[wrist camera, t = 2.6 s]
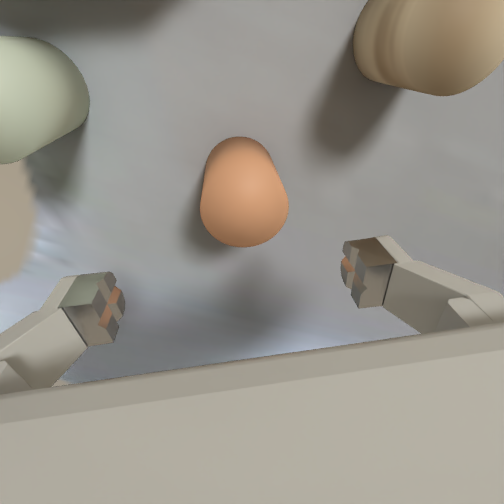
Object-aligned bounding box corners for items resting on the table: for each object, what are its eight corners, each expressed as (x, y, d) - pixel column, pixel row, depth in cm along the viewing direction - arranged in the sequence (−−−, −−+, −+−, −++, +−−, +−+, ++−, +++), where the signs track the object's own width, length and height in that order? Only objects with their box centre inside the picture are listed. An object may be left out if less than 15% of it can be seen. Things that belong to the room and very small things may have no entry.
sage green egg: (68, 33, 13) (-4, 27, 9) (101, 128, 15) (57, 158, 11) (-24, 40, 13) (-141, 38, 9) (24, 135, 15) (-49, 169, 11)
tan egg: (449, -26, 13) (556, -61, 9) (423, 79, 15) (497, 91, 11) (359, -19, 12) (425, -51, 8) (347, 86, 15) (394, 100, 11)
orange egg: (272, 133, 16) (288, 163, 12) (273, 199, 18) (288, 242, 14) (200, 139, 16) (192, 171, 12) (210, 205, 18) (207, 251, 14)
